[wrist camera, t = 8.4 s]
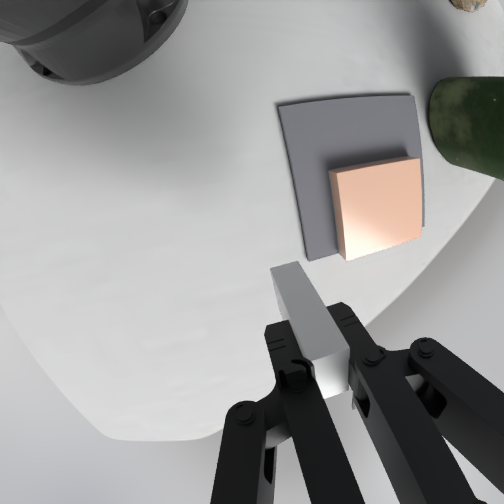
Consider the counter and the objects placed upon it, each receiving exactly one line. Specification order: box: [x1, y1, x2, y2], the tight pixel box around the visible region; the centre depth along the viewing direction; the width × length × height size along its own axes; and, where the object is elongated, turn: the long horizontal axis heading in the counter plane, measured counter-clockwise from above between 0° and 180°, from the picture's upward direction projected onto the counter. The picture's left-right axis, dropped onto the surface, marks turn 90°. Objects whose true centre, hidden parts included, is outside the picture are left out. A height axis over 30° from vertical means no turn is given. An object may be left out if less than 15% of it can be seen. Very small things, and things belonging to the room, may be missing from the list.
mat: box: [278, 96, 424, 262], centre depth 23 cm, size 14×14×1 cm
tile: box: [328, 156, 422, 261], centre depth 23 cm, size 8×2×9 cm
